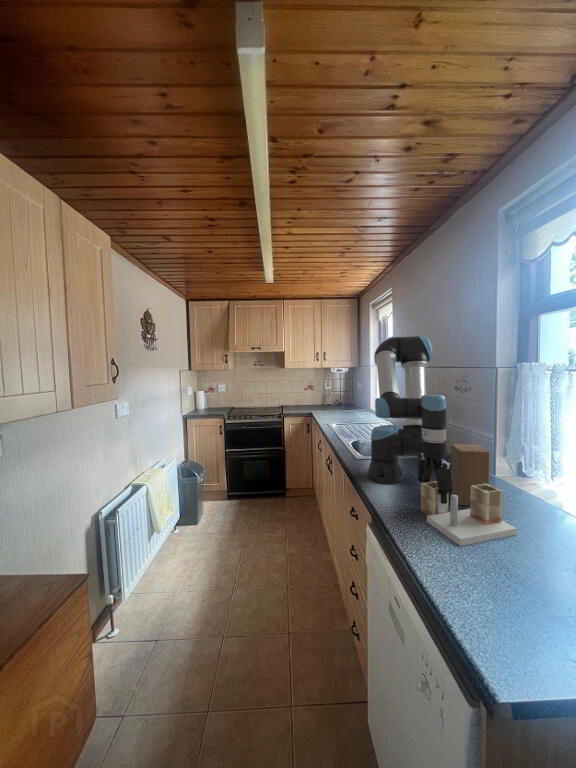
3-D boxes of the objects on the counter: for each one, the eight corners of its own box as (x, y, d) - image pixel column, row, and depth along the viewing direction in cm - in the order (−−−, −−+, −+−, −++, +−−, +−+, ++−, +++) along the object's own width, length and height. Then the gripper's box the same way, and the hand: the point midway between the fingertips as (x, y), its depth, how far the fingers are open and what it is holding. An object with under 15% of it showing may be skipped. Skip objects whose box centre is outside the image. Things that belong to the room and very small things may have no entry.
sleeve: (420, 511, 109) (421, 482, 109) (435, 508, 111) (435, 480, 110) (432, 519, 103) (433, 489, 103) (448, 516, 105) (448, 487, 104)
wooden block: (488, 507, 111) (490, 451, 110) (457, 505, 113) (458, 450, 112) (477, 495, 121) (478, 444, 119) (449, 493, 123) (450, 443, 121)
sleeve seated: (470, 515, 101) (470, 485, 100) (485, 513, 103) (485, 483, 102) (486, 525, 95) (486, 493, 95) (501, 522, 97) (502, 490, 96)
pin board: (426, 521, 102) (427, 488, 101) (477, 513, 107) (478, 481, 106) (460, 546, 88) (461, 508, 88) (516, 534, 93) (517, 498, 93)
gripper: (406, 435, 115) (406, 498, 115) (445, 448, 96) (445, 522, 97) (423, 434, 116) (424, 495, 117) (465, 446, 98) (466, 518, 98)
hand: (434, 507), depth 107 cm, fingers open, 6 cm apart
